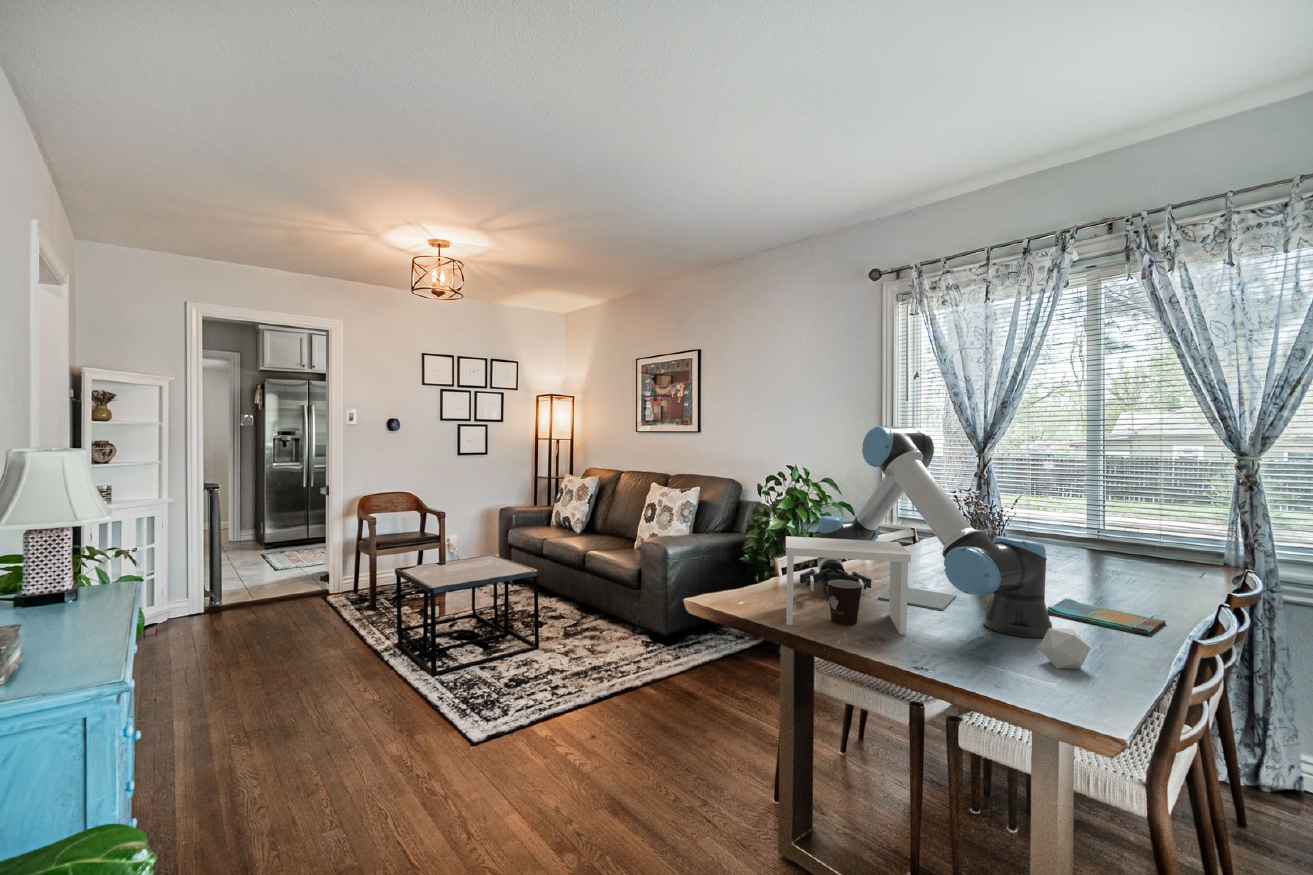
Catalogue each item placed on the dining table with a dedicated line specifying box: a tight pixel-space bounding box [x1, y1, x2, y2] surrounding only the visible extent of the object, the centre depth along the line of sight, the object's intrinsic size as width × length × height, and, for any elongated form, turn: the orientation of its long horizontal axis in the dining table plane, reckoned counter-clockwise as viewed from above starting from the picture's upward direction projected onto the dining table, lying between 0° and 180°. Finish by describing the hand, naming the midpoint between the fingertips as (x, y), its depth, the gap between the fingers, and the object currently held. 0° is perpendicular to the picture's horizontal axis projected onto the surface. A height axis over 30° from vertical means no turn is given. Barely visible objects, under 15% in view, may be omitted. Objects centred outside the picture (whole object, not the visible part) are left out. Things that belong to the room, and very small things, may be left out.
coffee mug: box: [823, 580, 862, 627], centre depth 161 cm, size 12×9×10 cm
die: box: [1038, 627, 1092, 670], centre depth 131 cm, size 8×9×10 cm
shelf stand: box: [785, 535, 912, 636], centre depth 161 cm, size 17×30×20 cm, turn 78°
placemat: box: [877, 587, 957, 612], centre depth 183 cm, size 18×18×1 cm
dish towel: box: [1046, 597, 1167, 637], centre depth 166 cm, size 17×23×3 cm
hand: (837, 587), depth 171 cm, fingers open, 13 cm apart
